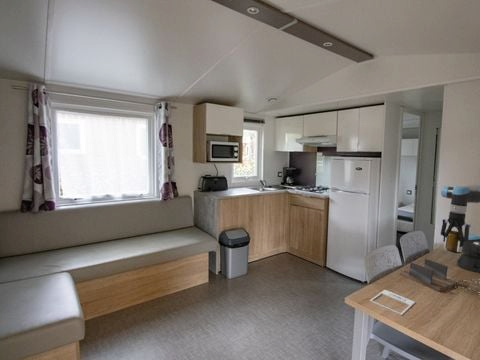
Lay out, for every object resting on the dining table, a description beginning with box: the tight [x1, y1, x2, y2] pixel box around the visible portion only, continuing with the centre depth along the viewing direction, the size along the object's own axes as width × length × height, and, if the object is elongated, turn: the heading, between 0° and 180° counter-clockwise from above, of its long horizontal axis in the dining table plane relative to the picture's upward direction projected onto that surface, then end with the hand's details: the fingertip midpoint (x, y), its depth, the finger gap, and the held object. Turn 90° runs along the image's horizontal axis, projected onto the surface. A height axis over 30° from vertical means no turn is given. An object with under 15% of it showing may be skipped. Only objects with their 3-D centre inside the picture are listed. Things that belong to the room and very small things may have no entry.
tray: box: [399, 258, 457, 293], centre depth 161 cm, size 18×22×10 cm
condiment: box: [443, 230, 465, 255], centre depth 160 cm, size 7×8×12 cm
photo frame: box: [369, 289, 416, 316], centre depth 135 cm, size 15×1×18 cm
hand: (452, 249), depth 161 cm, fingers closed on condiment, 6 cm apart
